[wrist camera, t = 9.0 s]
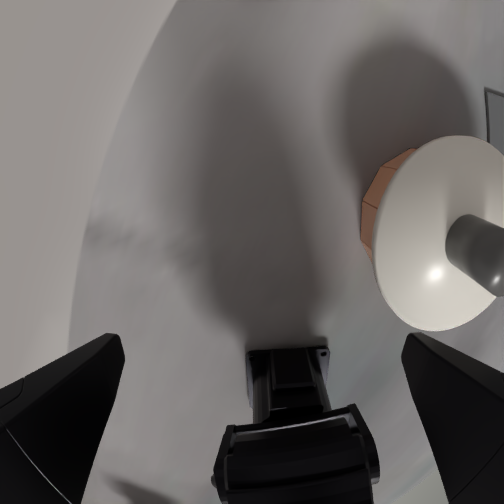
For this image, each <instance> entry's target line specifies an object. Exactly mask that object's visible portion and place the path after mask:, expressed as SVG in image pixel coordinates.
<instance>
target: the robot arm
mask: <svg viewBox="0 0 504 504" xmlns="http://www.w3.org/2000/svg"><path fill="white" fill-rule="evenodd" d="M322 352H325V353H323V354H322ZM251 356H254V357H255V358H250V357H251ZM329 358H330V351H329V348H328V347H326V346H318V347H306V348H291V349H275V350H256V351H249V352H247V354H246V367H247V380H248V392H249V404H250V407H251V408H252V409H253V424H247V425H238V426H236V425H227V427H226V431H225V434H224V435H223V438H222V441H221V445H220V448H219V452H218V455H217V458H216V462H215V465H214V469H213V471H214V474H213V475H212V477H211V482H212V485H213V486H214V487H216V488H217V491H218V495H219V498H220V501H221V503H222V504H374V502H373V493H372V485H373V484H376V483H378V482H379V478H380V465H379V458H378V453H377V449H376V445H375V442H374V439H373V437H372V434H371V432H370V431H369V429H368V427H367V425H366V423H365V421H364V419H363V417H362V415H361V414H360V412H359V410H358V408H357V406H356V404H355V403H354V404H350V405H347V407H344V408H339V409H335V410H332V409H331V405H330V402H329V398H328V394H327V391H326V381H327V374H328V366H329ZM401 360H402V364H403V367H404V370H405V374H406V377H407V381H408V384H409V388H410V391H411V395H412V398H413V401H414V403H415V406H416V408H417V411H418V413H419V416H420V419H421V421H422V424H423V427H424V429H425V432H426V435H427V438H428V440H429V443H430V446H431V449H432V452H433V455H434V458H435V461H436V464H437V467H438V470H439V472H440V476H441V479H442V482H443V486H444V489H445V492H446V496H447V499H448V502H449V504H504V373H502V372H500V371H498V370H496V369H494V368H492V367H490V366H488V365H486V364H484V363H482V362H480V361H478V360H476V359H474V358H472V357H470V356H468V355H466V354H464V353H462V352H460V351H458V350H456V349H454V348H452V347H450V346H448V345H446V344H444V343H442V342H440V341H438V340H436V339H433V338H431V337H429V336H427V335H425V334H423V333H421V332H414V333H409V334H408V336H407V338H406V341H405V344H404V348H403V351H402V355H401ZM124 363H125V355H124V351H123V347H122V343H121V339H120V337H119V335H118V334H112V333H105V334H104V335H102V336H100V337H98V338H96V339H94V340H92V341H90V342H89V343H87V344H85V345H83V346H81V347H79V348H77V349H75V350H74V351H72V352H70V353H68V354H66V355H65V356H62V357H60V358H59V359H57V360H55V361H53V362H51V363H49V364H47V365H46V366H44V367H42V368H40V369H38V370H36V371H35V372H32V373H30V374H29V375H27V376H25V377H24V378H21V379H19V380H17V381H15V382H13V383H11V384H9V385H7V386H5V387H4V388H1V389H0V504H81V501H82V498H83V494H84V491H85V488H86V484H87V481H88V478H89V475H90V471H91V468H92V465H93V462H94V459H95V456H96V453H97V450H98V447H99V444H100V441H101V438H102V435H103V432H104V429H105V427H106V424H107V421H108V418H109V416H110V413H111V410H112V407H113V404H114V402H115V398H116V394H117V390H118V386H119V382H120V378H121V374H122V370H123V367H124Z"/></svg>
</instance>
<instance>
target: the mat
mask: <svg viewBox="0 0 504 504" xmlns="http://www.w3.org/2000/svg"><path fill="white" fill-rule="evenodd" d="M485 98H486V110H487V129H488V143H489V144H491V145H492V146H494V147H495V148H496V149H497V150H498V151H499V152H500V153H501V154H502V155H503V156H504V97H501V96H498V95H496V94H493V93H490V92H485Z"/></svg>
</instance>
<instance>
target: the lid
mask: <svg viewBox="0 0 504 504" xmlns="http://www.w3.org/2000/svg"><path fill="white" fill-rule="evenodd" d="M372 264H373V270H374V275H375V279H376V282H377V285H378V287H379V290H380V292H381V294H382V296H383V297H384V299H385V301H386V302H387V303H388V305H389V306H390V307H391V308H392V310H393V311H394V312H395V314H396V315H397V316H398V317H399V318H401V319H402V320H403V321H404V322H406V323H407V324H409V325H411V326H413V327H415V328H418V329H421V330H426V331H442V330H448V329H452V328H455V327H458V326H460V325H462V324H464V323H466V322H468V321H470V320H471V319H473V318H474V317H476V316H477V315H479V314H480V313H481V312H482V311H483V310H485V309H486V308H487V307H488V306H489V305H490V304H491V303H492V302H493V300H494V299H495V298H496V297H501V296H504V156H503V155H502V154H501V153H500V152H499V151H498V150H497V149H496V148H495V147H494V146H492V145H491V144H489V143H488V142H486V141H484V140H482V139H479V138H475V137H472V136H459V135H452V136H444V137H440V138H437V139H434V140H432V141H430V142H428V143H426V144H424V145H422V146H421V147H419V148H418V149H417V150H415V151H414V152H413V153H412V154H411V155H410V156H409V157H408V158H407V159H406V160H405V161H404V162H403V163H402V164H401V165H400V167H399V168H398V169H397V171H396V172H395V173H394V175H393V177H392V178H391V180H390V182H389V183H388V185H387V187H386V189H385V192H384V194H383V196H382V198H381V201H380V204H379V207H378V210H377V213H376V218H375V222H374V226H373V235H372Z"/></svg>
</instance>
